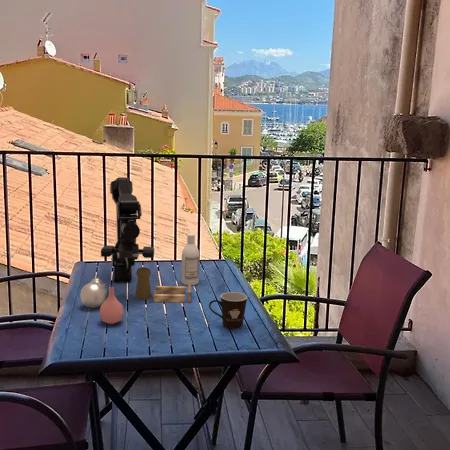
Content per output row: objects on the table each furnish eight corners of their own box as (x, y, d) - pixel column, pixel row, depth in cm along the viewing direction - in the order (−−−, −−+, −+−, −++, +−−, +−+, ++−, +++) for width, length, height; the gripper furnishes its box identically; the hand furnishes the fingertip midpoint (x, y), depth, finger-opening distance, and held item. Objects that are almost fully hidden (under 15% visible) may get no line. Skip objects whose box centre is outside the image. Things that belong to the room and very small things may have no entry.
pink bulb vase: (128, 321, 184) (128, 286, 182) (114, 329, 177) (114, 293, 175) (108, 316, 187) (108, 282, 185) (94, 324, 180) (94, 288, 178)
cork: (135, 293, 210) (135, 265, 207) (151, 294, 210) (152, 265, 208) (134, 299, 204) (134, 270, 202) (151, 299, 204) (151, 270, 202)
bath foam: (202, 283, 224) (203, 235, 220) (187, 286, 220) (189, 237, 216) (191, 279, 230) (193, 231, 225) (177, 282, 225) (178, 233, 221)
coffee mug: (249, 322, 187) (250, 294, 185) (241, 332, 179) (242, 302, 177) (216, 317, 190) (217, 289, 188) (207, 326, 182) (208, 297, 180)
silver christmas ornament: (111, 308, 194) (111, 281, 192) (84, 313, 189) (84, 285, 187) (103, 300, 202) (102, 274, 199) (77, 304, 197) (76, 277, 195)
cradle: (152, 301, 202) (152, 291, 201) (154, 292, 212) (154, 282, 212) (190, 302, 203) (191, 292, 202) (190, 292, 213) (191, 282, 212)
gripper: (98, 237, 193) (98, 280, 197) (152, 238, 194) (152, 281, 198) (103, 230, 204) (103, 271, 207) (154, 231, 205) (154, 272, 209)
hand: (128, 274), depth 205 cm, fingers closed
